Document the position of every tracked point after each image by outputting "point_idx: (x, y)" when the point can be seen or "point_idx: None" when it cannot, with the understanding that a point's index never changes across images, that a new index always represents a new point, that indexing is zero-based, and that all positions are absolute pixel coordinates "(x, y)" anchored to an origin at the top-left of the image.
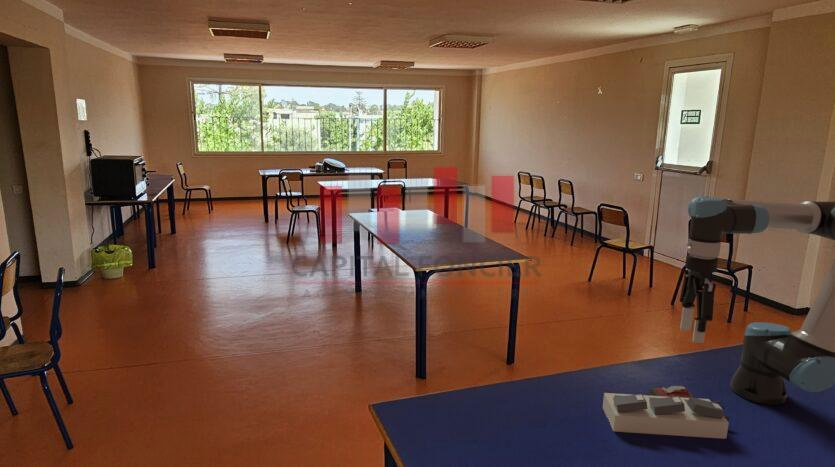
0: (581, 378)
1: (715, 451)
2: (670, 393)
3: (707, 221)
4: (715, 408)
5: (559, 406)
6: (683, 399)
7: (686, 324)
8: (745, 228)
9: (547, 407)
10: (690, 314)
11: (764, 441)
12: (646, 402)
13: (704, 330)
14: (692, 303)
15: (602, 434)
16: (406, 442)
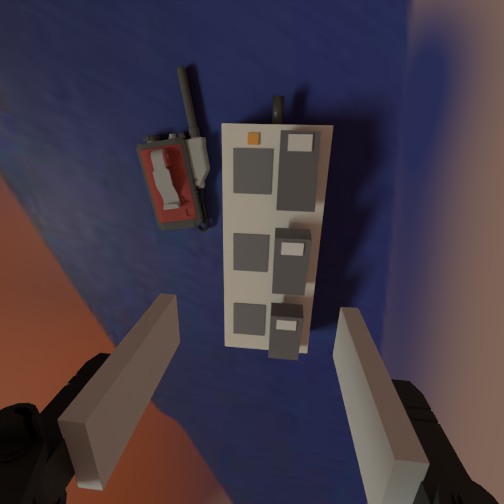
0: (128, 329)
1: (370, 176)
2: (178, 194)
3: None
4: (315, 155)
5: (234, 385)
6: (231, 193)
7: (164, 343)
8: None
9: (239, 401)
10: (124, 387)
11: (337, 29)
12: (303, 316)
13: (422, 401)
14: (29, 496)
15: (313, 349)
16: None
